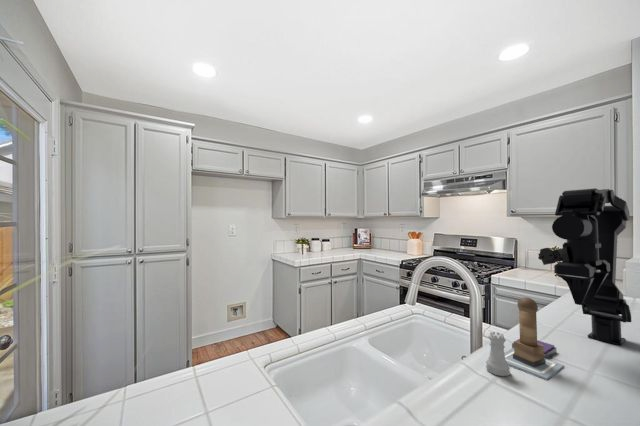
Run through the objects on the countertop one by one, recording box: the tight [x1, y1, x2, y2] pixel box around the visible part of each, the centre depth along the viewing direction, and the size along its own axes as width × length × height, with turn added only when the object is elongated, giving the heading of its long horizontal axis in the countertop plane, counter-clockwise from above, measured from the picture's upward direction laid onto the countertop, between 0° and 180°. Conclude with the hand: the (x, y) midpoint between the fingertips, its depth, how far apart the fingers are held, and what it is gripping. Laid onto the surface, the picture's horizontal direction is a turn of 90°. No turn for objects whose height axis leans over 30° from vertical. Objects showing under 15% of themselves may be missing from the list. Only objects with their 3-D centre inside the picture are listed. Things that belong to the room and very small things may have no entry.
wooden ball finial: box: [513, 297, 546, 367], centre depth 63 cm, size 4×4×14 cm
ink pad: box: [511, 338, 558, 360], centre depth 69 cm, size 7×7×2 cm
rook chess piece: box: [485, 331, 511, 377], centre depth 59 cm, size 4×4×8 cm
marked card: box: [504, 347, 565, 381], centre depth 62 cm, size 10×10×1 cm
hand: (584, 301), depth 67 cm, fingers open, 9 cm apart
